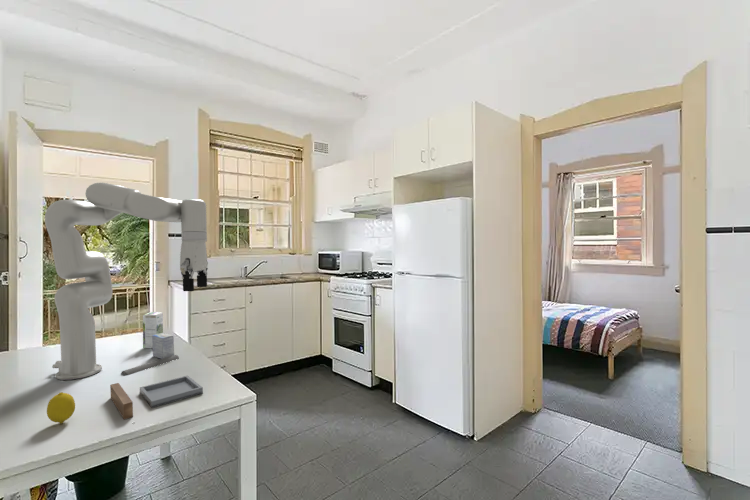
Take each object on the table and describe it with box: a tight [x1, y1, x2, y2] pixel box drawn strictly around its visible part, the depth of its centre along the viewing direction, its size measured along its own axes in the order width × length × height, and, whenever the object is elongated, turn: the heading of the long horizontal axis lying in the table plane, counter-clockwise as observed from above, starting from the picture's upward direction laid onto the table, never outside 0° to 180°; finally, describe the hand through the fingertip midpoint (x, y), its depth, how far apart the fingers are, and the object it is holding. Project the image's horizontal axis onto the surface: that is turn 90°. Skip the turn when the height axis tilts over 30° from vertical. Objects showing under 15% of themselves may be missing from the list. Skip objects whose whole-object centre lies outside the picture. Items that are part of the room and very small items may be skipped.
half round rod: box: [121, 354, 179, 376], centre depth 137 cm, size 4×20×2 cm, turn 153°
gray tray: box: [139, 375, 204, 409], centre depth 113 cm, size 14×14×2 cm
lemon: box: [46, 392, 76, 424], centre depth 95 cm, size 6×6×8 cm
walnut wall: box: [110, 382, 134, 420], centre depth 104 cm, size 2×18×4 cm, turn 44°
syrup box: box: [142, 311, 164, 349], centre depth 161 cm, size 6×6×14 cm
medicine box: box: [152, 332, 175, 360], centre depth 147 cm, size 8×4×9 cm, turn 58°
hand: (195, 288), depth 123 cm, fingers open, 9 cm apart
